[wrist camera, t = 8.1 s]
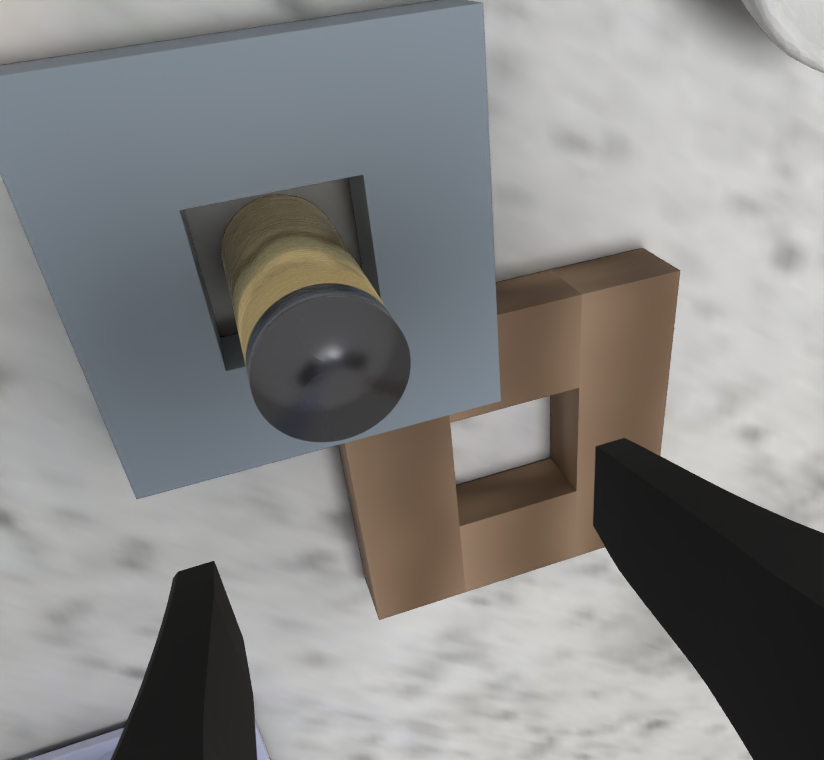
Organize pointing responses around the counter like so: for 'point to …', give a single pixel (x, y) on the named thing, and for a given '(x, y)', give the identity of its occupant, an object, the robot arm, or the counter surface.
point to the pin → (310, 323)
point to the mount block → (535, 483)
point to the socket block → (244, 177)
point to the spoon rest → (793, 27)
